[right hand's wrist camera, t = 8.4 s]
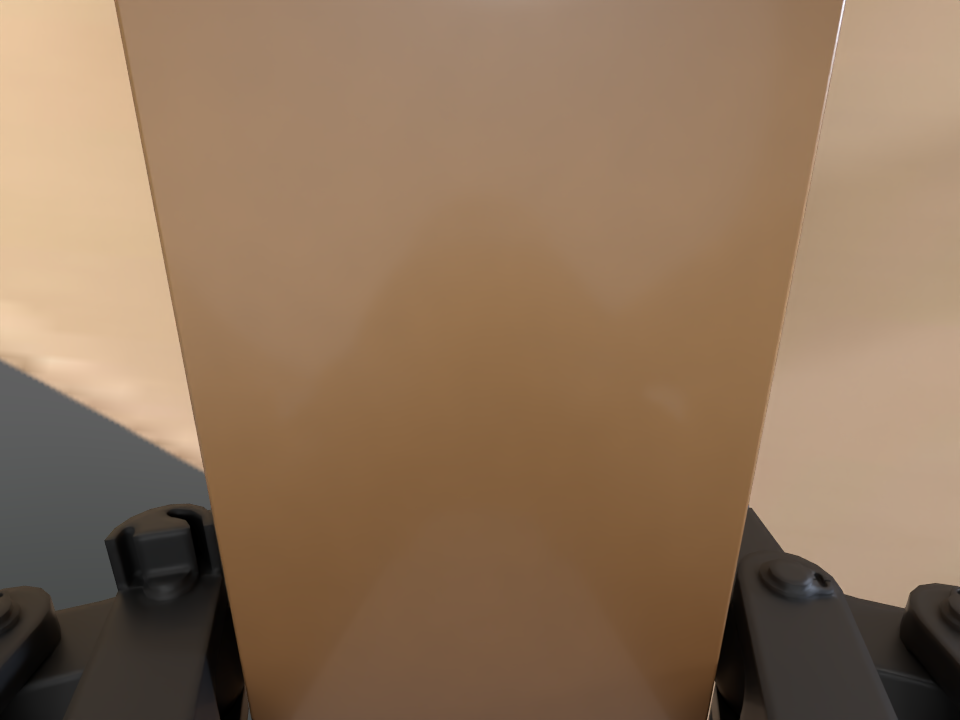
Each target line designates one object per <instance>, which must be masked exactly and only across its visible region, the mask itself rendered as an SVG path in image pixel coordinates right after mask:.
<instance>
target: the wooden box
mask: <svg viewBox="0 0 960 720" xmlns="http://www.w3.org/2000/svg"><path fill="white" fill-rule="evenodd" d="M114 1H115V7H116V12H117V17H118V22H119V28H120V33H121V38H122V43H123V48H124V54H125V59H126V64H127V69H128V75H129V80H130V85H131V90H132V96H133V101H134V106H135V111H136V116H137V122H138V127H139V132H140V137H141V143H142V148H143V153H144V158H145V164H146V169H147V174H148V179H149V185H150V190H151V195H152V200H153V205H154V211H155V216H156V221H157V226H158V232H159V237H160V242H161V247H162V253H163V258H164V263H165V268H166V273H167V279H168V284H169V289H170V294H171V300H172V305H173V310H174V315H175V321H176V326H177V331H178V336H179V342H180V347H181V352H182V357H183V362H184V368H185V373H186V378H187V383H188V389H189V394H190V399H191V404H192V410H193V415H194V420H195V425H196V431H197V436H198V441H199V446H200V451H201V457H202V462H203V467H204V472H205V478H206V483H207V488H208V493H209V499H210V504H211V509H212V514H213V519H214V525H215V530H216V535H217V540H218V546H219V551H220V556H221V561H222V567H223V572H224V577H225V582H226V588H227V593H228V598H229V603H230V608H231V614H232V619H233V624H234V629H235V635H236V640H237V645H238V650H239V656H240V661H241V666H242V671H243V676H244V682H245V687H246V692H247V697H248V703H249V708H250V713H251V718H252V720H707V717H708V711H709V706H710V701H711V696H712V691H713V686H714V680H715V675H716V670H717V665H718V660H719V655H720V649H721V644H722V639H723V634H724V629H725V624H726V618H727V613H728V608H729V603H730V598H731V593H732V587H733V582H734V577H735V572H736V567H737V561H738V556H739V551H740V546H741V541H742V536H743V530H744V525H745V520H746V515H747V510H748V505H749V499H750V494H751V489H752V484H753V479H754V474H755V468H756V463H757V458H758V453H759V448H760V442H761V437H762V432H763V427H764V422H765V417H766V411H767V406H768V401H769V396H770V391H771V386H772V380H773V375H774V370H775V365H776V360H777V355H778V349H779V344H780V339H781V334H782V329H783V323H784V318H785V313H786V308H787V303H788V298H789V292H790V287H791V282H792V277H793V272H794V267H795V261H796V256H797V251H798V246H799V241H800V236H801V230H802V225H803V220H804V215H805V210H806V204H807V199H808V194H809V189H810V184H811V179H812V173H813V168H814V163H815V158H816V153H817V148H818V142H819V137H820V132H821V127H822V122H823V117H824V111H825V106H826V101H827V96H828V91H829V85H830V80H831V75H832V70H833V65H834V60H835V54H836V49H837V44H838V39H839V34H840V29H841V23H842V18H843V13H844V8H845V3H846V0H114Z"/></svg>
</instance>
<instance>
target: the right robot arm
mask: <svg viewBox="0 0 960 720" xmlns="http://www.w3.org/2000/svg"><path fill="white" fill-rule="evenodd" d="M105 545H106V548H107V552H108V555H109V559H110V563H111V566H112V570H113V574H114V577H115V581H116V585H117V588H118V593H117V595H116V597H114V598H110V599H107V600H103V601H99V602H94V603H90V604H85V605H81V606H76V607H72V608H67V609H63V610H58V611H55V609H54V606H53V603H52V600H51V597H50V595H49V594H48V593H47V592H45V591H44V590H43V589H42V588H37V587H30V586H20V587H13V588H6V589H2V590H0V720H247V719H248V710H249V708H248V700H247V694H246V688H245V682H244V676H243V671H242V666H241V661H240V656H239V650H238V645H237V640H236V635H235V629H234V624H233V619H232V614H231V608H230V603H229V598H228V593H227V588H226V582H225V577H224V572H223V567H222V561H221V556H220V551H219V546H218V540H217V535H216V530H215V525H214V519H213V514H212V509H211V510H206V509H205V508H204V507H201V506H197V505H192V504H171V505H166V506H162V507H158V508H154V509H150V510H147V511H145V512H143V513H140V514H138V515H135V516H133V517H131V518H129V519H128V520H126V521H125V522H123V523H122V524H120V525H119V526H117V527H116V528H115V529H114V530H113V531H112V532H111V533H110V535H109V536H108V537H107V538H106V539H105ZM715 682H716V683H715V688H714V694H713V699H712V704H711V709H710V715H709V720H960V587H958V586H952V585H945V584H938V583H933V584H926V585H919V586H918V587H917V588H915V589H914V590H913V591H912V592H911V593H910V595H909V598H908V601H907V604H906V607H905V608H900V607H895V606H891V605H886V604H882V603H877V602H873V601H868V600H863V599H859V598H855V597H852V596H848V595H845V594H843V591H842V590H841V588H840V587H839V585H838V584H837V583H836V581H835V580H834V578H833V577H832V576H831V575H829V574H828V573H827V572H825V571H824V570H823V569H822V568H820V567H819V566H818V565H816V564H814V563H812V562H810V561H808V560H806V559H804V558H801V557H799V556H796V555H793V554H789V553H785V552H784V551H783V550H782V548H781V547H780V546H779V544H778V543H777V542H776V540H775V539H774V538H773V536H772V535H771V534H770V532H769V531H768V530H767V528H766V527H765V525H764V524H763V523H762V521H761V520H760V519H759V517H758V516H757V515H756V513H755V512H754V511H753V509H752V508H749V505H748V510H747V515H746V520H745V525H744V530H743V536H742V541H741V546H740V551H739V556H738V561H737V567H736V572H735V577H734V582H733V587H732V593H731V598H730V603H729V608H728V613H727V618H726V624H725V629H724V634H723V639H722V644H721V649H720V655H719V660H718V665H717V670H716V675H715Z"/></svg>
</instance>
